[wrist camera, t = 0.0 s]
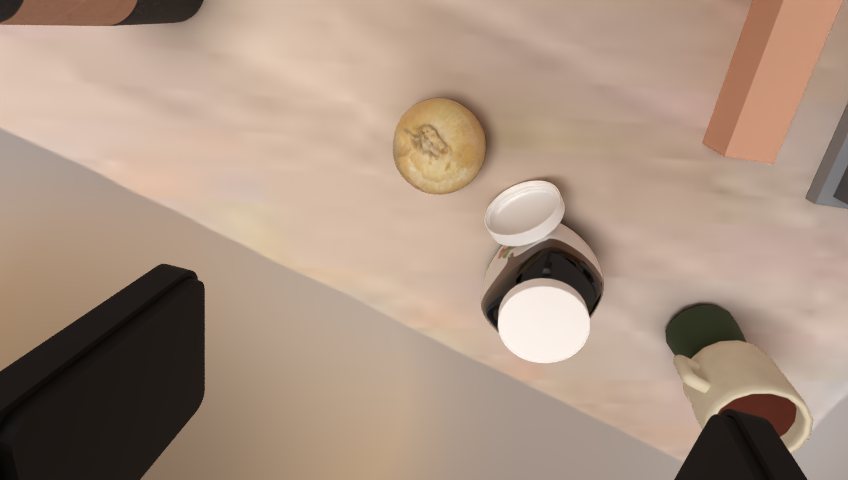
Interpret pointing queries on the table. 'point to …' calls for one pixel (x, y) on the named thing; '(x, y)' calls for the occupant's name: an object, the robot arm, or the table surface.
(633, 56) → the table surface
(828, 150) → the board
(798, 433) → the character mug
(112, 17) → the travel mug
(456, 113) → the onion
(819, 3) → the slat
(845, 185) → the end caps
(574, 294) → the spread jar
